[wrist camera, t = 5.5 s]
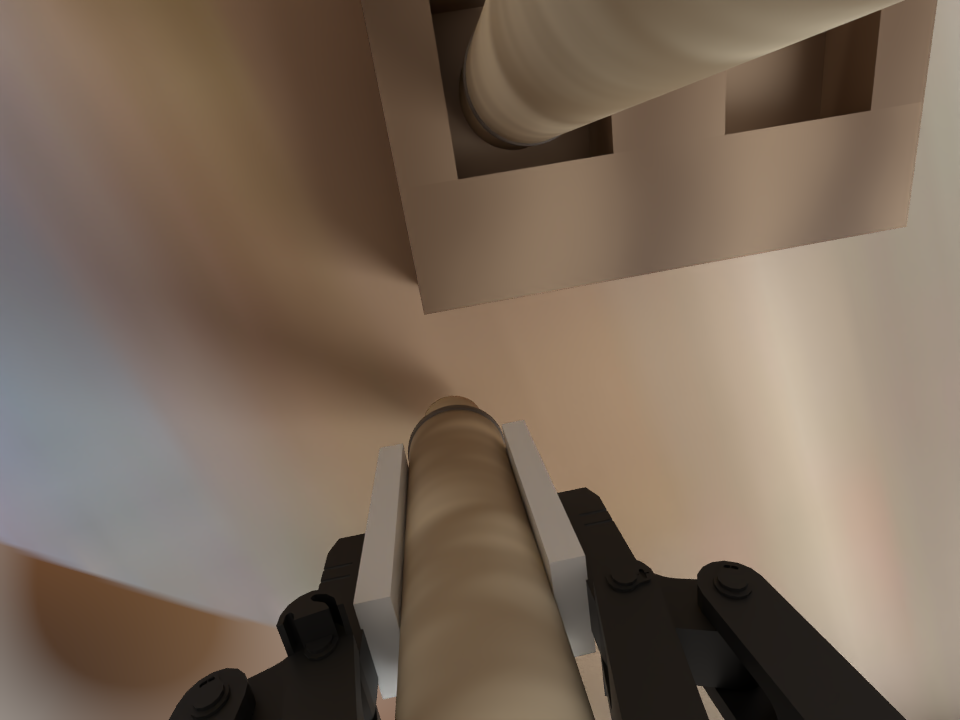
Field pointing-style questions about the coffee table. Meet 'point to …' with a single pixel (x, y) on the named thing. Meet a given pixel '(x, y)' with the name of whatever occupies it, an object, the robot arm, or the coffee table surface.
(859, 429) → the coffee table surface
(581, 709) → the beech peg
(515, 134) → the wooden peg stand
